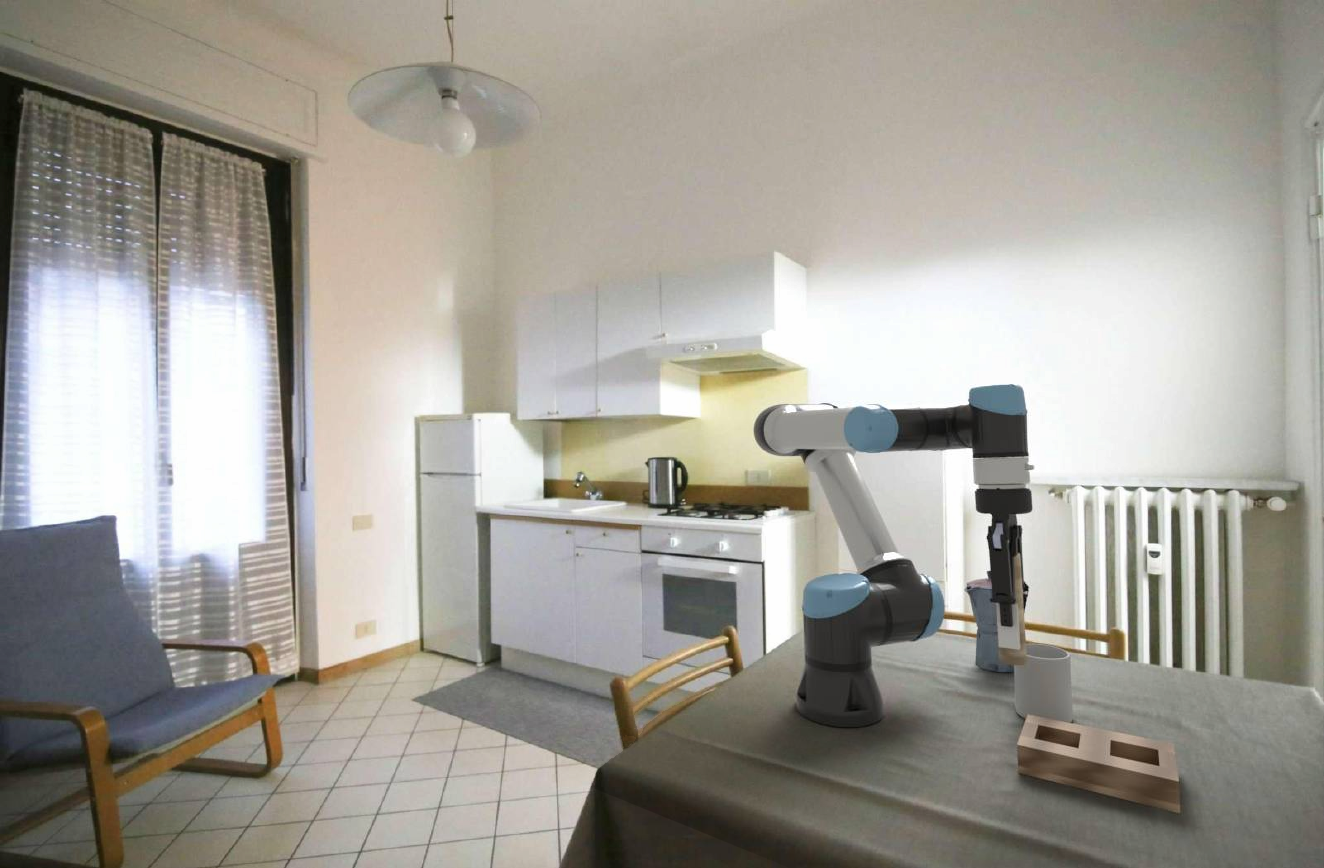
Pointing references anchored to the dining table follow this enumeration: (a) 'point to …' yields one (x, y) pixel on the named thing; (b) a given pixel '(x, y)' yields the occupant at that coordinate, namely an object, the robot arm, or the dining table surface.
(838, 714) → the robot arm
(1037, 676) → the mug
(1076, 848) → the dining table surface
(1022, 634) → the pin
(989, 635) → the moka pot
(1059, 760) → the bore block
